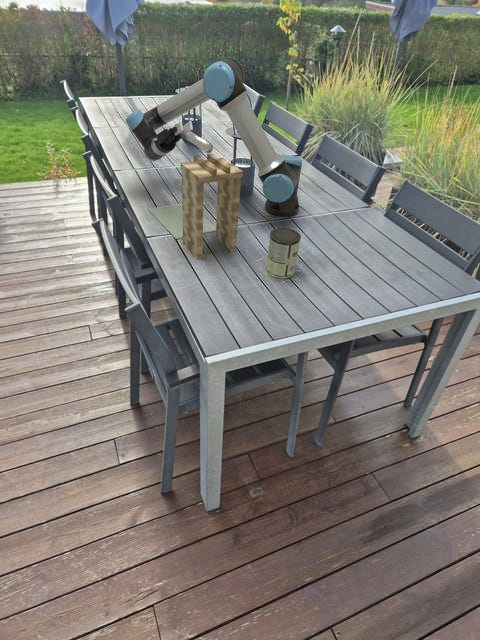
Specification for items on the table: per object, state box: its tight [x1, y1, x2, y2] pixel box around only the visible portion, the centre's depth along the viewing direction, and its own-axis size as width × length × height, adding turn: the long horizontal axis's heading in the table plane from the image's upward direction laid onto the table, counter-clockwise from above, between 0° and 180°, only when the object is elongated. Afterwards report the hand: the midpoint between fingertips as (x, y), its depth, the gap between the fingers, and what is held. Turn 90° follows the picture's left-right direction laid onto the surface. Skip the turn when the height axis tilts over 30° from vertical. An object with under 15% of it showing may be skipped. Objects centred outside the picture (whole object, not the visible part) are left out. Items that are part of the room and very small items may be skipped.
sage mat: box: [148, 202, 216, 240], centre depth 179 cm, size 28×18×1 cm, turn 31°
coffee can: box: [265, 227, 302, 279], centre depth 150 cm, size 10×10×14 cm
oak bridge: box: [180, 152, 244, 260], centre depth 153 cm, size 14×16×32 cm
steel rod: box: [173, 123, 214, 154], centre depth 149 cm, size 24×3×3 cm, turn 31°
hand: (186, 125), depth 150 cm, fingers closed on steel rod, 3 cm apart
